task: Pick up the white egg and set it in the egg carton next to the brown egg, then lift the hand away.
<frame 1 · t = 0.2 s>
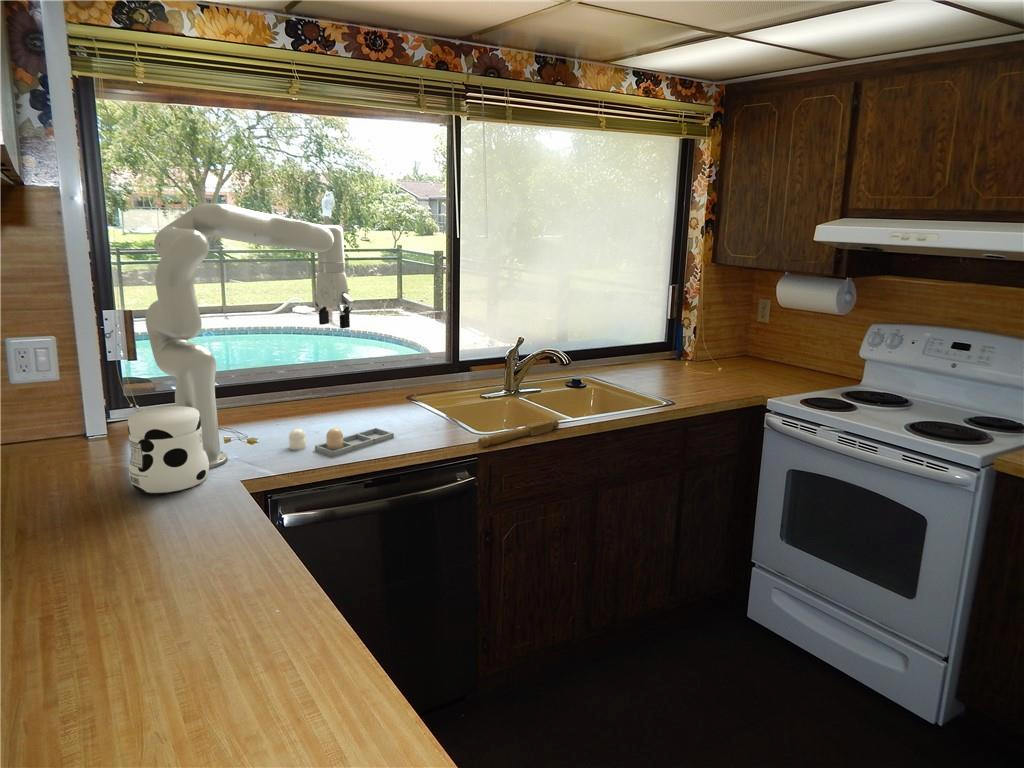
hand: (334, 325, 216), 31 cm above the worktop, tool pointing down, fingers open, 9 cm apart
milk container: (171, 487, 174), on the worktop
brown egg: (335, 450, 197), point 1 cm above the worktop, touching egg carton
white egg: (298, 450, 200), on the worktop
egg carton: (355, 447, 203), on the worktop
brown long rod: (520, 438, 214), on the worktop
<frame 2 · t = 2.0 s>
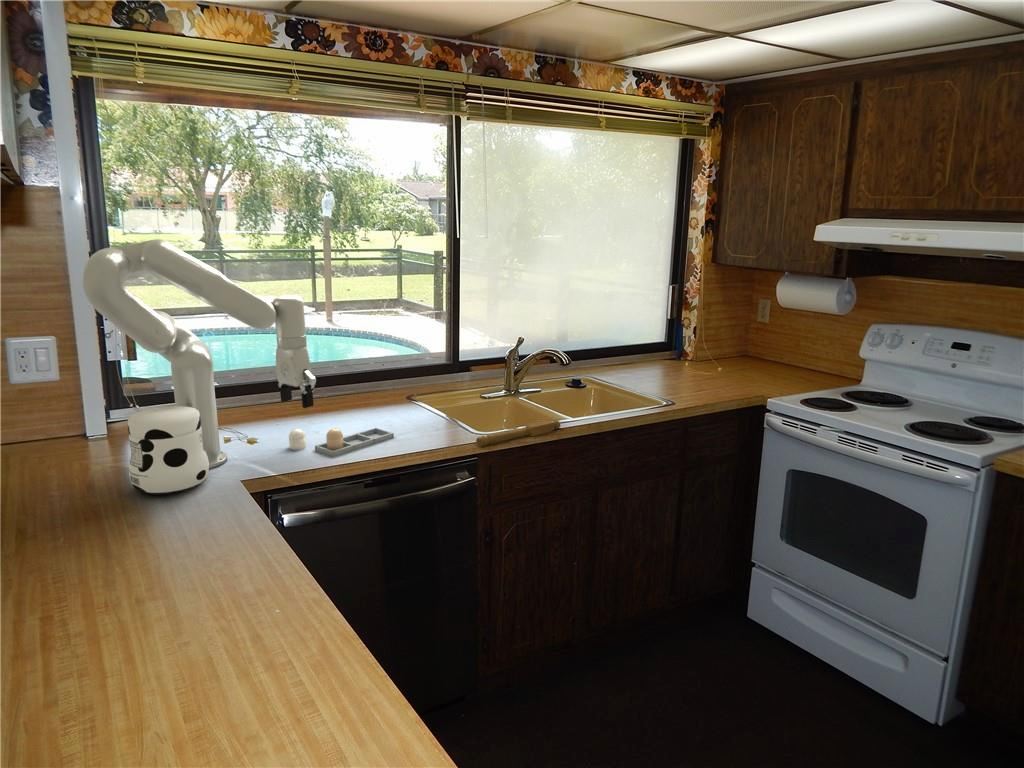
hand: (297, 403, 197), 13 cm above the worktop, tool pointing down, fingers open, 9 cm apart
nothing on the worktop moved.
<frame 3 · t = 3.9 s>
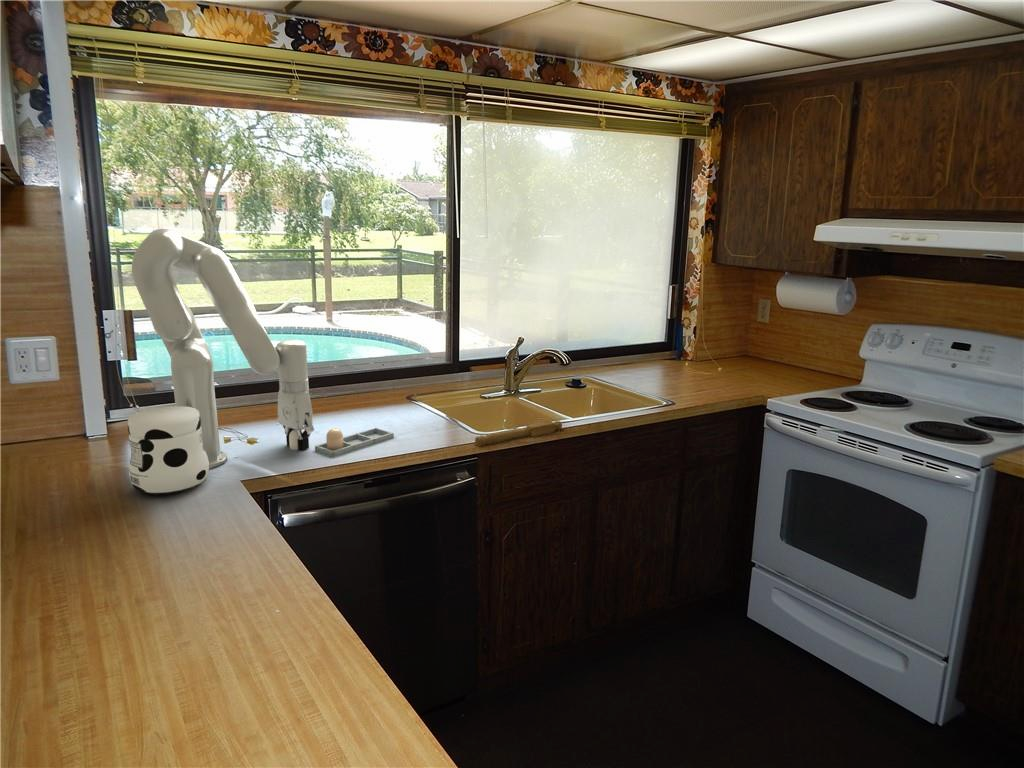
hand: (298, 449, 200), 0 cm above the worktop, tool pointing down, fingers closed on white egg, 4 cm apart
white egg: (298, 450, 200), on the worktop, touching gripper
everything else where it was.
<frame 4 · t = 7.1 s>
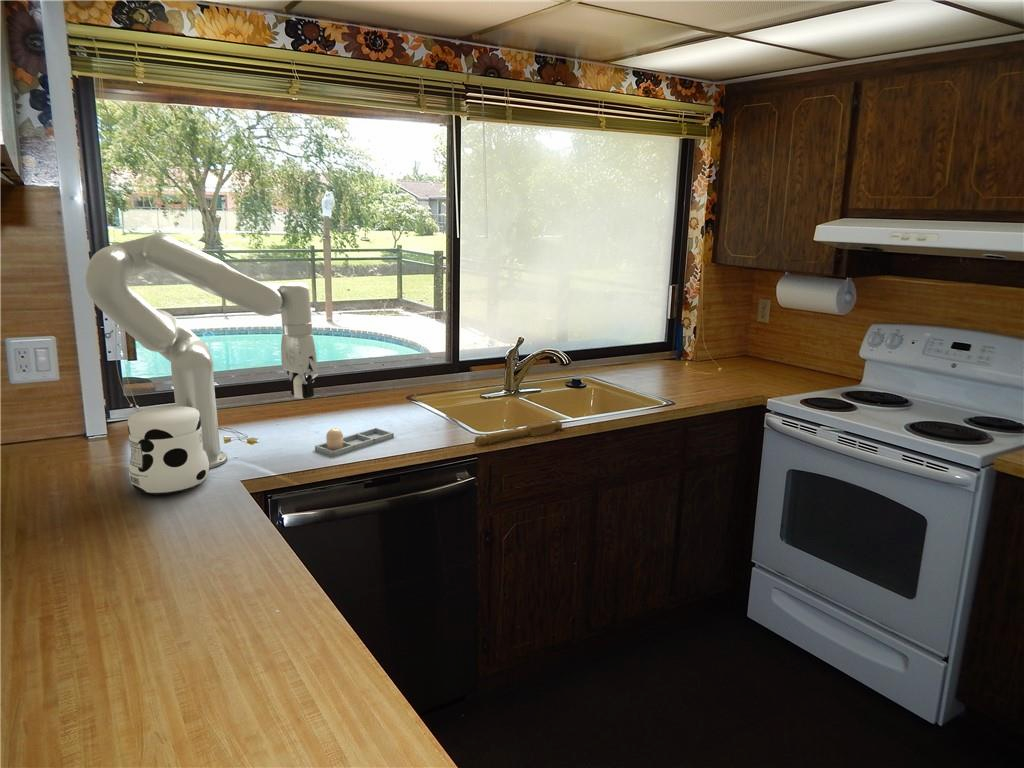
hand: (302, 395, 197), 16 cm above the worktop, tool pointing down, fingers closed on white egg, 4 cm apart
white egg: (302, 396, 197), point 15 cm above the worktop, touching gripper
everything else where it was.
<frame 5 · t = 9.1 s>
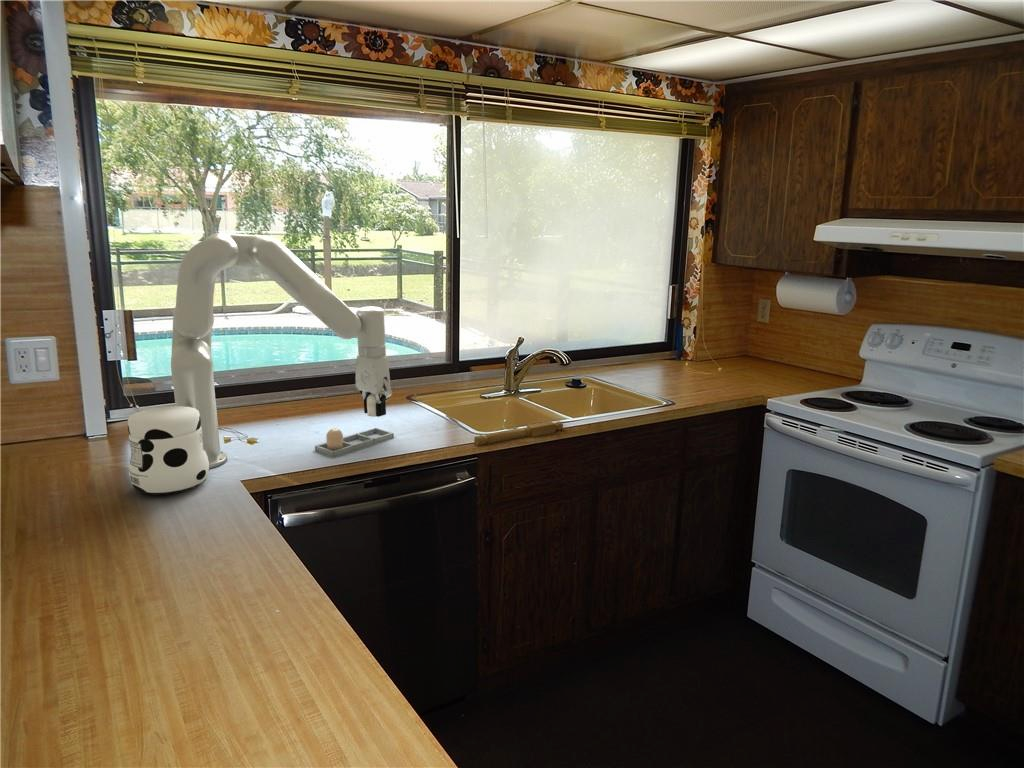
hand: (375, 413, 206), 8 cm above the worktop, tool pointing down, fingers closed on white egg, 4 cm apart
white egg: (375, 414, 206), point 8 cm above the worktop, touching gripper
when the fingers open (3 cm above the worktop, at t = 10.5 s): white egg drops 1 cm, resting on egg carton.
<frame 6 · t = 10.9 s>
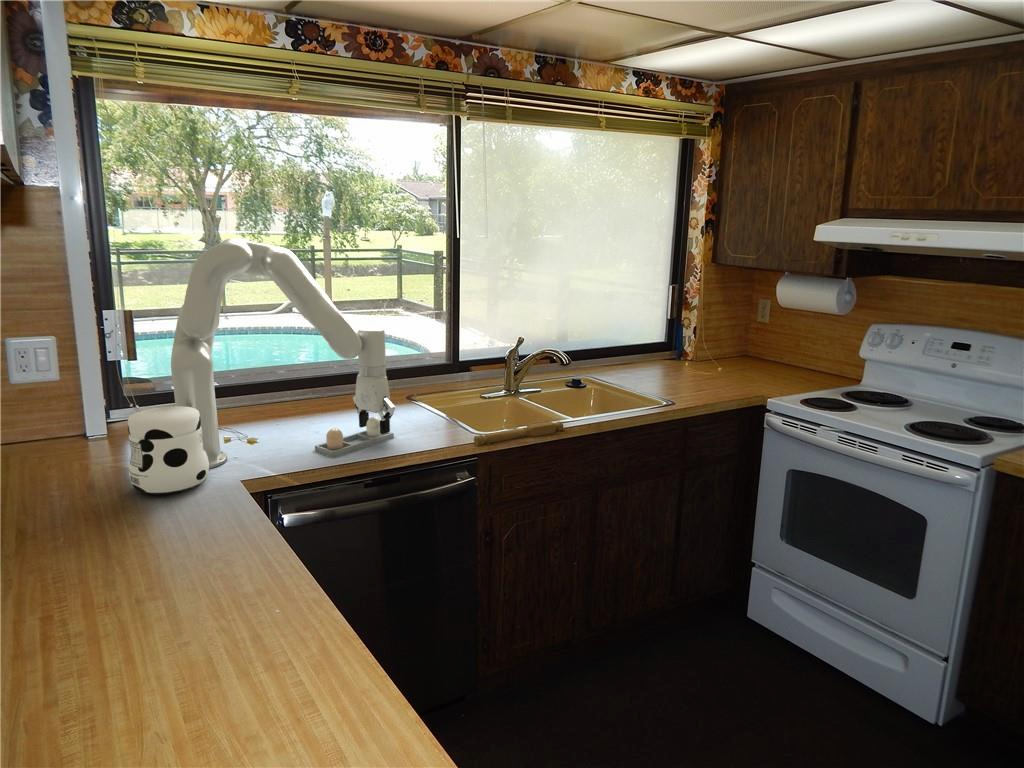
hand: (374, 429, 207), 4 cm above the worktop, tool pointing down, fingers open, 8 cm apart
white egg: (374, 437, 208), point 1 cm above the worktop, touching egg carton
everything else where it was.
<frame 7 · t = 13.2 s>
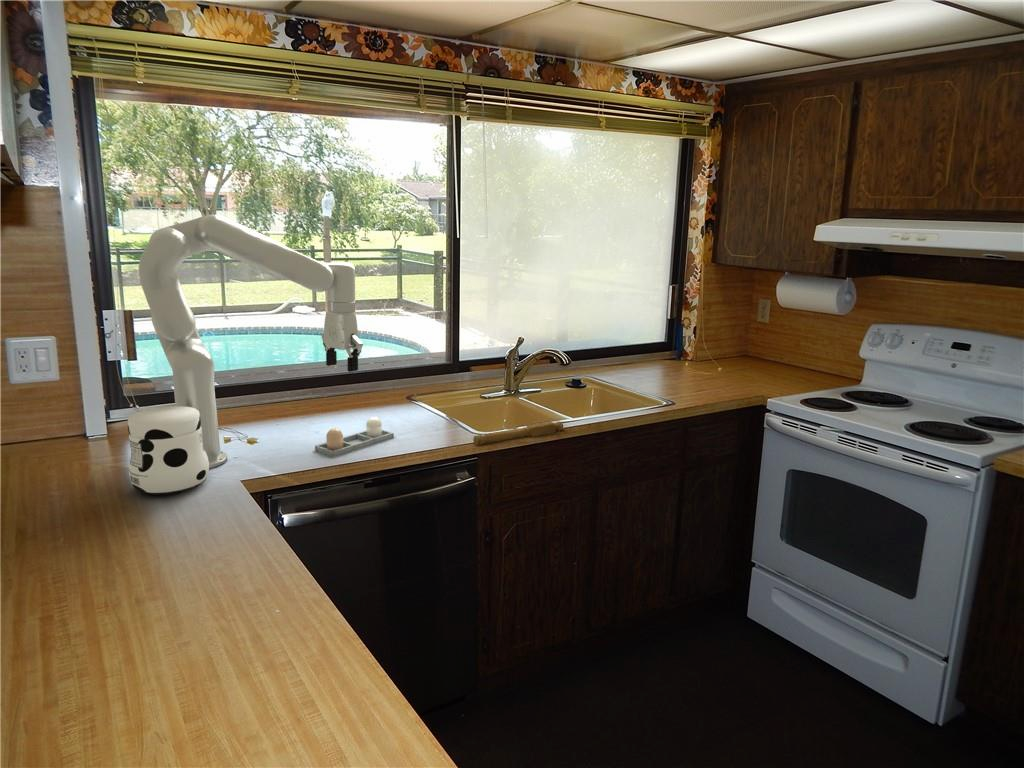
hand: (342, 367, 204), 21 cm above the worktop, tool pointing down, fingers open, 9 cm apart
nothing on the worktop moved.
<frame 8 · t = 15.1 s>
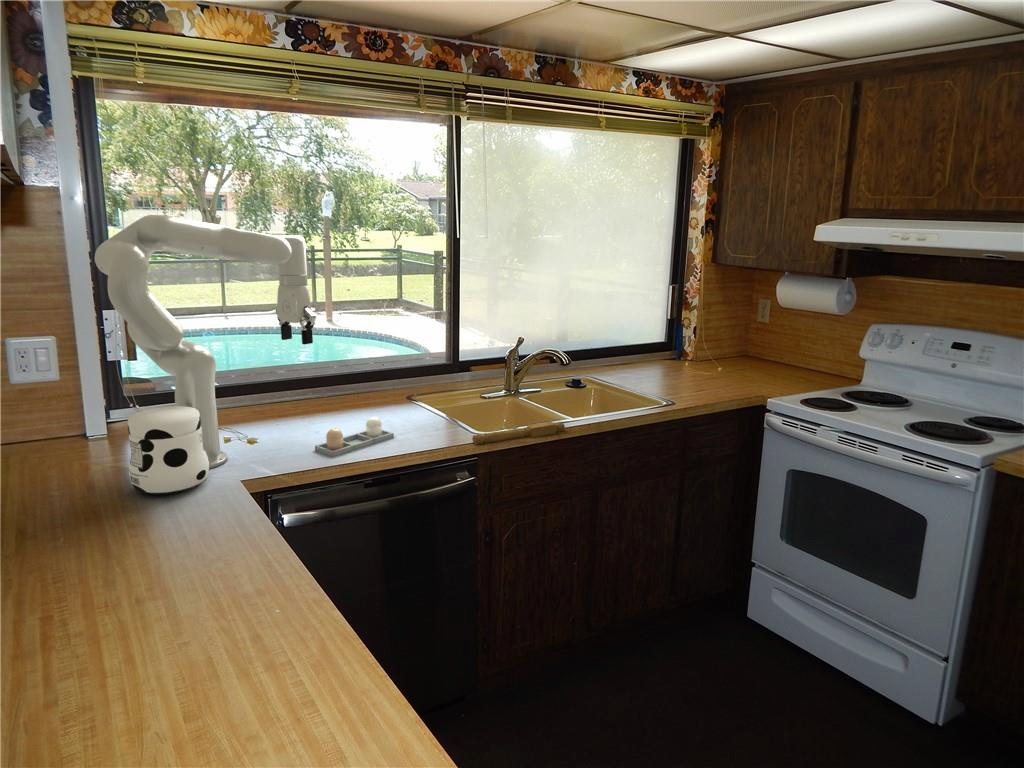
hand: (297, 341, 204), 28 cm above the worktop, tool pointing down, fingers open, 9 cm apart
at the end: white egg 0.1 cm from the target spot on the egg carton, point 1.0 cm above the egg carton's base; white egg tilted 1°; the gripper is holding nothing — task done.
